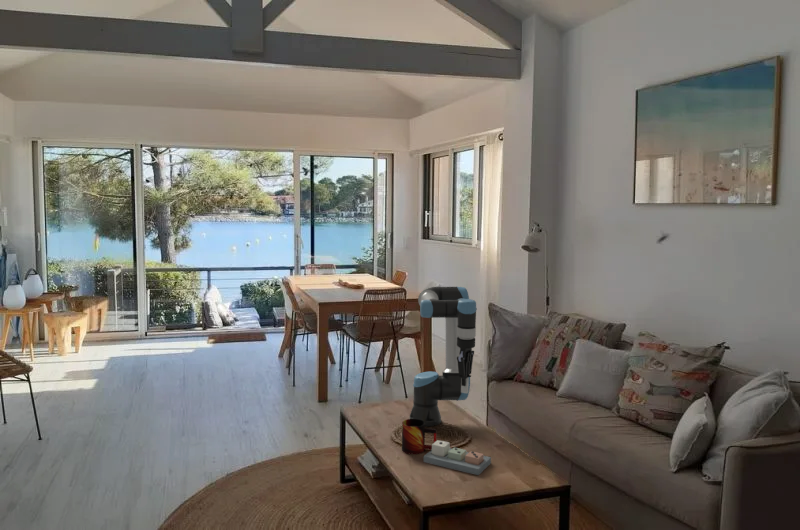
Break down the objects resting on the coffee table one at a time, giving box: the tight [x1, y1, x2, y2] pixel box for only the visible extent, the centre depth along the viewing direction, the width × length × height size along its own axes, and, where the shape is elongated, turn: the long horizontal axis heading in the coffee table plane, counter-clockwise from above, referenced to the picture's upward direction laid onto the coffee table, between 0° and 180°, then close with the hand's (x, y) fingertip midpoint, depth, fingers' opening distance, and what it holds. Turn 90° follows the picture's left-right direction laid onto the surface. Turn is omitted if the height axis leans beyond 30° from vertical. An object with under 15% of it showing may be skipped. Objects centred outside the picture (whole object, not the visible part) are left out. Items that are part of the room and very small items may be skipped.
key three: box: [465, 450, 485, 465], centre depth 258 cm, size 6×6×4 cm
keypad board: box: [423, 447, 492, 476], centre depth 262 cm, size 13×24×2 cm, turn 60°
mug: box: [401, 418, 437, 455], centre depth 275 cm, size 10×14×12 cm
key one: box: [431, 439, 451, 457], centre depth 265 cm, size 6×6×4 cm
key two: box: [448, 447, 467, 461], centre depth 262 cm, size 6×6×4 cm
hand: (464, 392), depth 268 cm, fingers closed
